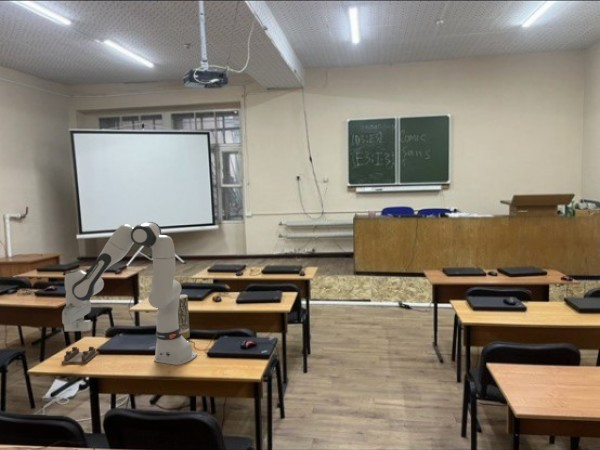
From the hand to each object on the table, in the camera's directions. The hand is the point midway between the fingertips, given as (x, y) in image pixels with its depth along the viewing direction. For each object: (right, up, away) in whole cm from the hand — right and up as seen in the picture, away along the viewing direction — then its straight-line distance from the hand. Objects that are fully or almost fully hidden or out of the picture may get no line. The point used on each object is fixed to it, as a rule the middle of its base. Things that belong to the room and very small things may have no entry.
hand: (77, 326), depth 212 cm
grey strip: (0, -2, 0) cm, 2 cm away
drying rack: (0, -17, +2) cm, 17 cm away
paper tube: (+47, -13, +28) cm, 56 cm away
